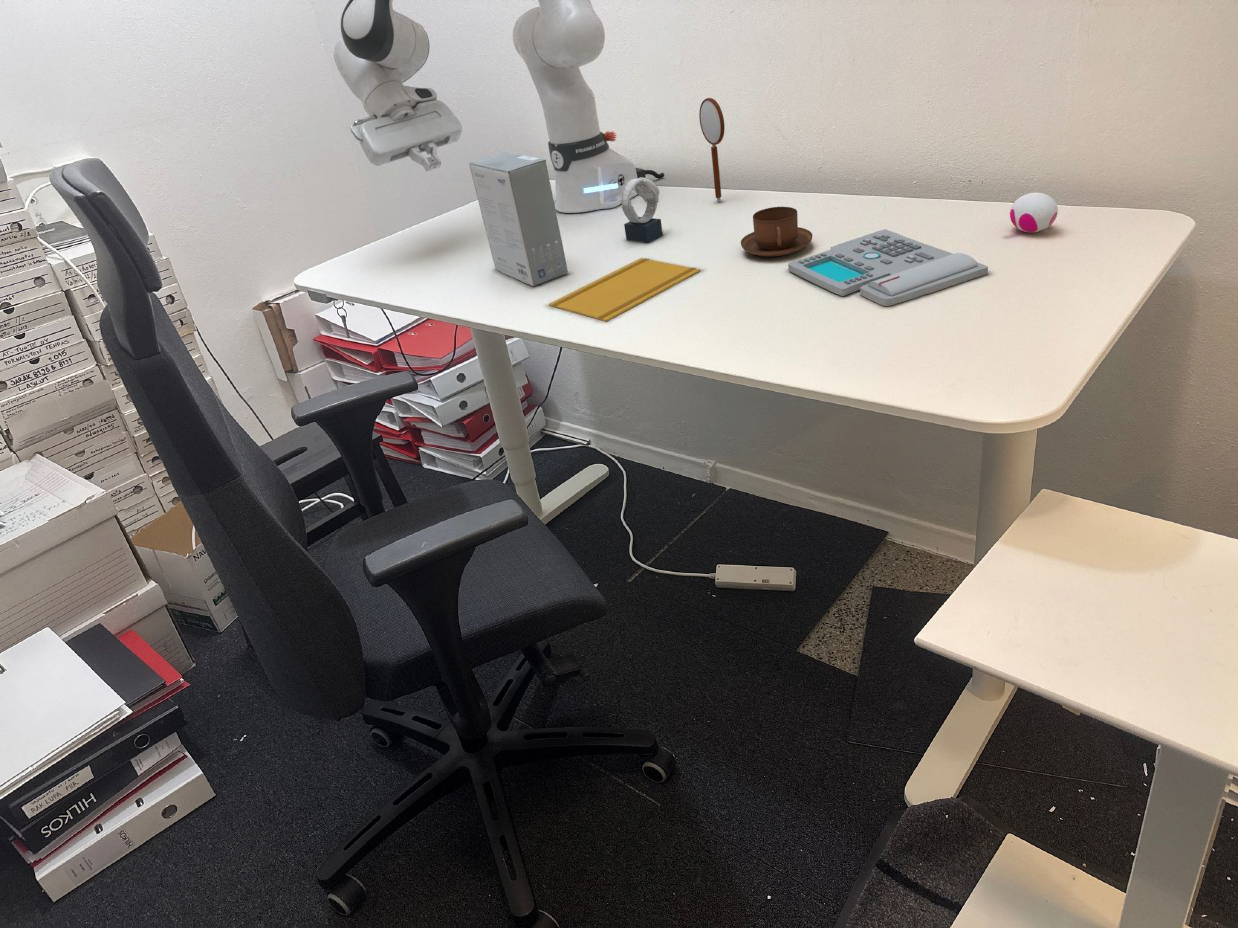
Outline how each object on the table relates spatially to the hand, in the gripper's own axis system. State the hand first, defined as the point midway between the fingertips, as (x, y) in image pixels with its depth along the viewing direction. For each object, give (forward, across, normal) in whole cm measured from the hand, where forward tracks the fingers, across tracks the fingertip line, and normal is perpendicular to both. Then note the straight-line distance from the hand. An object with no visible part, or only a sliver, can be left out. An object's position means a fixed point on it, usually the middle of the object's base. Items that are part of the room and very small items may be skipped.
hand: (434, 167), depth 156 cm
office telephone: (+68, +24, -47) cm, 86 cm away
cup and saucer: (+54, +26, -32) cm, 67 cm away
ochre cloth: (+45, +2, -22) cm, 50 cm away
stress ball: (+76, +47, -56) cm, 105 cm away
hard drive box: (+29, 0, -5) cm, 29 cm away
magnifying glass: (+34, +44, -12) cm, 57 cm away
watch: (+34, +22, -11) cm, 42 cm away
